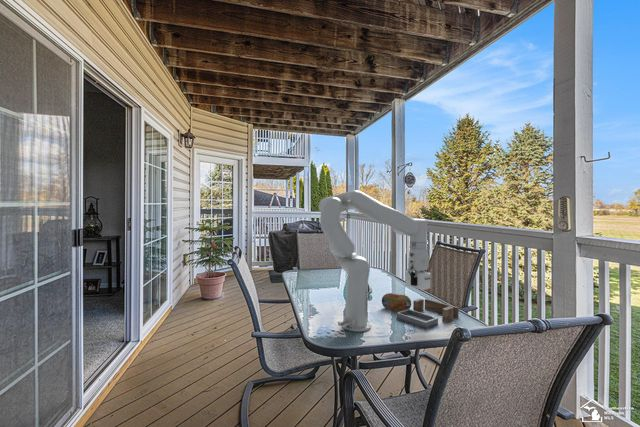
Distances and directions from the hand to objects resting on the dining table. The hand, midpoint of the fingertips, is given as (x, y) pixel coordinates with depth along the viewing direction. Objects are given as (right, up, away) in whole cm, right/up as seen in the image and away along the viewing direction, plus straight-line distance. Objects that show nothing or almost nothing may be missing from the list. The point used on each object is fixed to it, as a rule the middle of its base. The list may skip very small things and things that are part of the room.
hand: (417, 284), depth 145 cm
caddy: (0, -1, 0) cm, 1 cm away
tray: (0, -18, 0) cm, 18 cm away
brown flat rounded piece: (-6, -18, +17) cm, 25 cm away
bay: (+12, -18, +10) cm, 23 cm away
